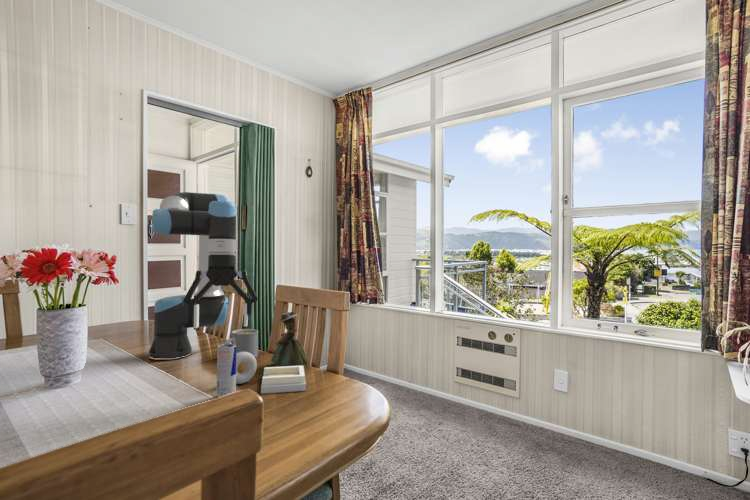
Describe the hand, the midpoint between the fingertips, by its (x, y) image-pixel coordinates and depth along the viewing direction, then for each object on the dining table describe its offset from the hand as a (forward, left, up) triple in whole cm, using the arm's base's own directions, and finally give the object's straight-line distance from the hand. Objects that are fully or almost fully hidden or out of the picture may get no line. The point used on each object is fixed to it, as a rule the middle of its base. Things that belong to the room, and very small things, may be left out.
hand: (221, 326), depth 113 cm
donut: (-9, +5, -20) cm, 22 cm away
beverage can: (+3, +2, -20) cm, 20 cm away
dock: (-6, +18, -20) cm, 28 cm away
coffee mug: (-39, +1, -20) cm, 44 cm away
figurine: (-24, +20, -20) cm, 37 cm away
